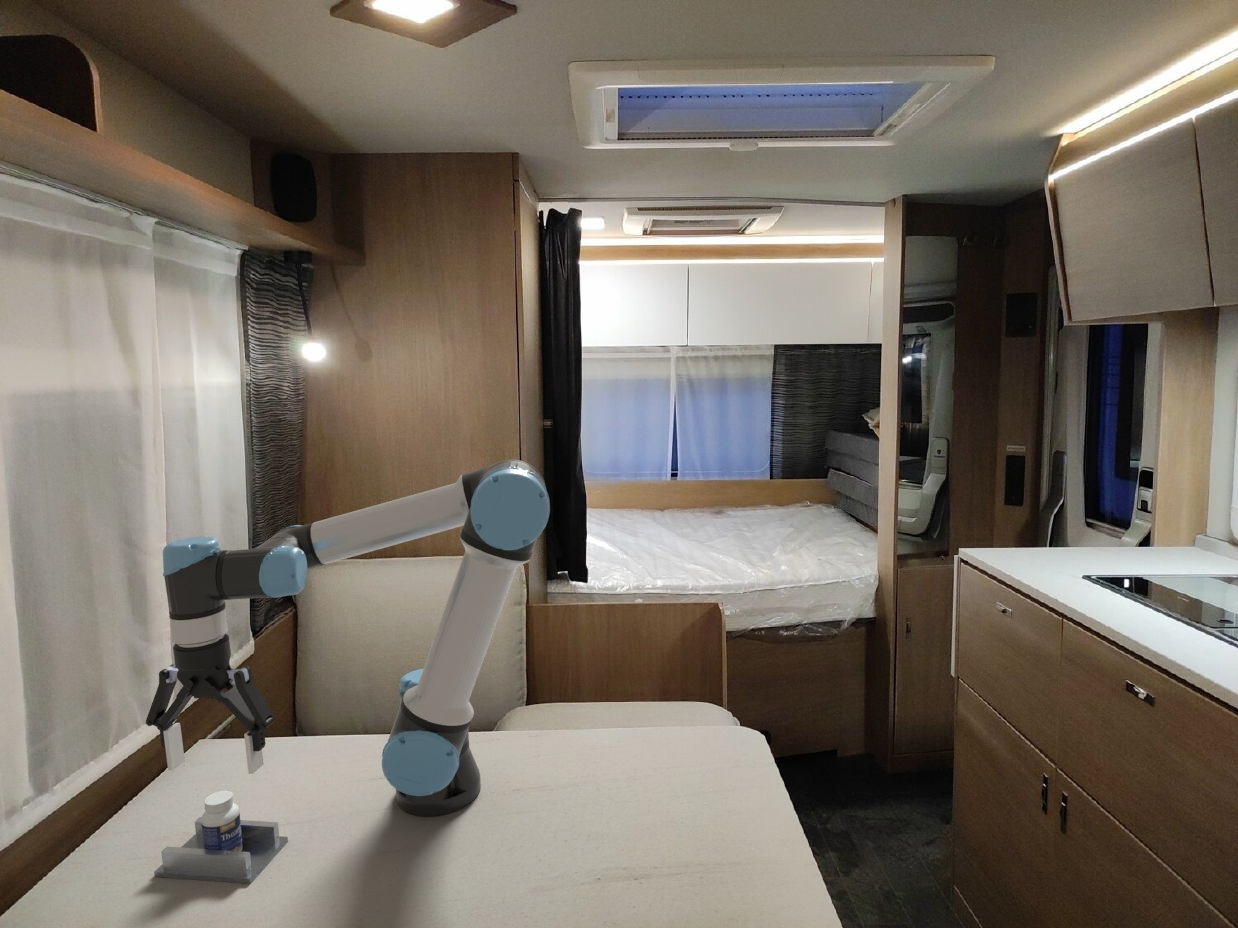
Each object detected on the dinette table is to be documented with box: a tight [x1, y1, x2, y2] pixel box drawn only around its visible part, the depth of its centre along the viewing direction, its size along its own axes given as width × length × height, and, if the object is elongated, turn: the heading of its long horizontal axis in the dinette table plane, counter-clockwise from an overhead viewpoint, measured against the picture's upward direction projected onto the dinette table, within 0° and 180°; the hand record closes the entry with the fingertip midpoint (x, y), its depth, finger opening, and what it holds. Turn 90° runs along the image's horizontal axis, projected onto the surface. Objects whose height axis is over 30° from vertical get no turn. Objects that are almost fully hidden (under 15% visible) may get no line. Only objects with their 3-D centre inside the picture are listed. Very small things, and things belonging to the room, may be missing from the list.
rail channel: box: [153, 816, 289, 885], centre depth 116 cm, size 16×10×4 cm, turn 83°
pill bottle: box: [201, 790, 243, 852], centre depth 116 cm, size 5×5×10 cm
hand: (216, 767), depth 114 cm, fingers open, 13 cm apart
